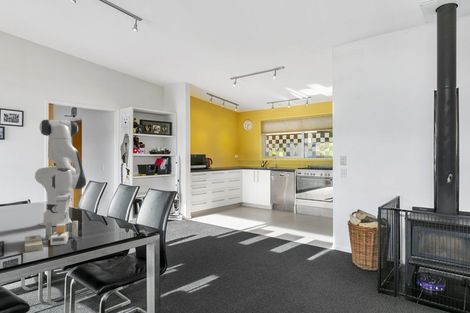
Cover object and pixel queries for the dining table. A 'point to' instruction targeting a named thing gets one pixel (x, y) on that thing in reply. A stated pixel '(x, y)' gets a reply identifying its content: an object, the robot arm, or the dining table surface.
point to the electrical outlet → (33, 243)
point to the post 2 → (74, 229)
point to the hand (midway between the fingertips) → (63, 219)
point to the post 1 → (48, 231)
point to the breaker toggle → (60, 228)
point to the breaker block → (59, 238)
